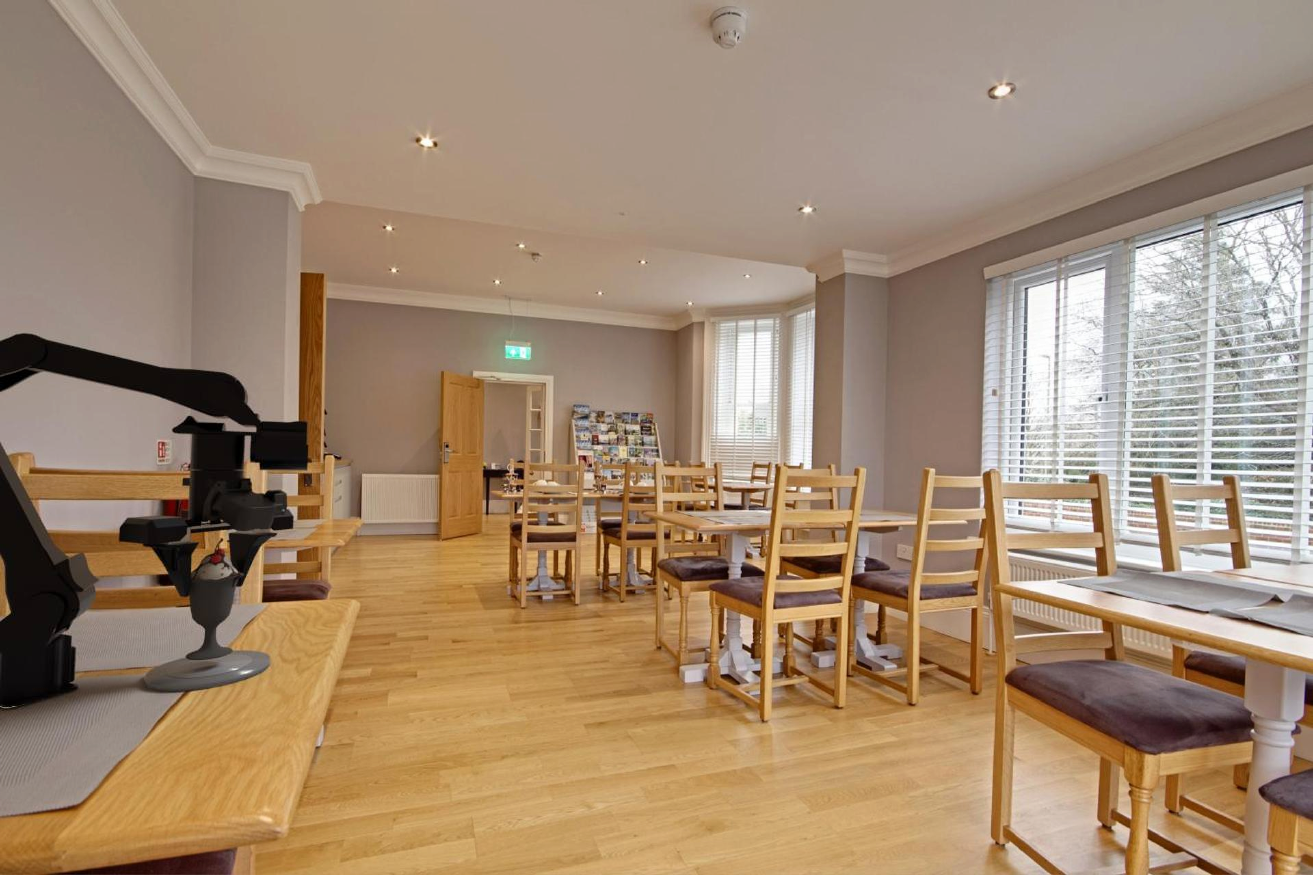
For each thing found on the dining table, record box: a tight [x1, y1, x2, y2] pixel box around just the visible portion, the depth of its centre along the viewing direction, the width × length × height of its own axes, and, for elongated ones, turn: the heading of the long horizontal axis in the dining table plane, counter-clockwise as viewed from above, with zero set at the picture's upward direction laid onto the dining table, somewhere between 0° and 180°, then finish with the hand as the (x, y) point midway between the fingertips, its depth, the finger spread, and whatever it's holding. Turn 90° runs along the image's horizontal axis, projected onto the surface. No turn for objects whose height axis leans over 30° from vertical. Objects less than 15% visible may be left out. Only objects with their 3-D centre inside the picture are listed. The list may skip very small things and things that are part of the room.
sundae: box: [184, 537, 244, 660], centre depth 80 cm, size 7×7×15 cm
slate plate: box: [144, 649, 271, 692], centre depth 80 cm, size 13×13×1 cm
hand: (212, 591), depth 80 cm, fingers closed on sundae, 6 cm apart
